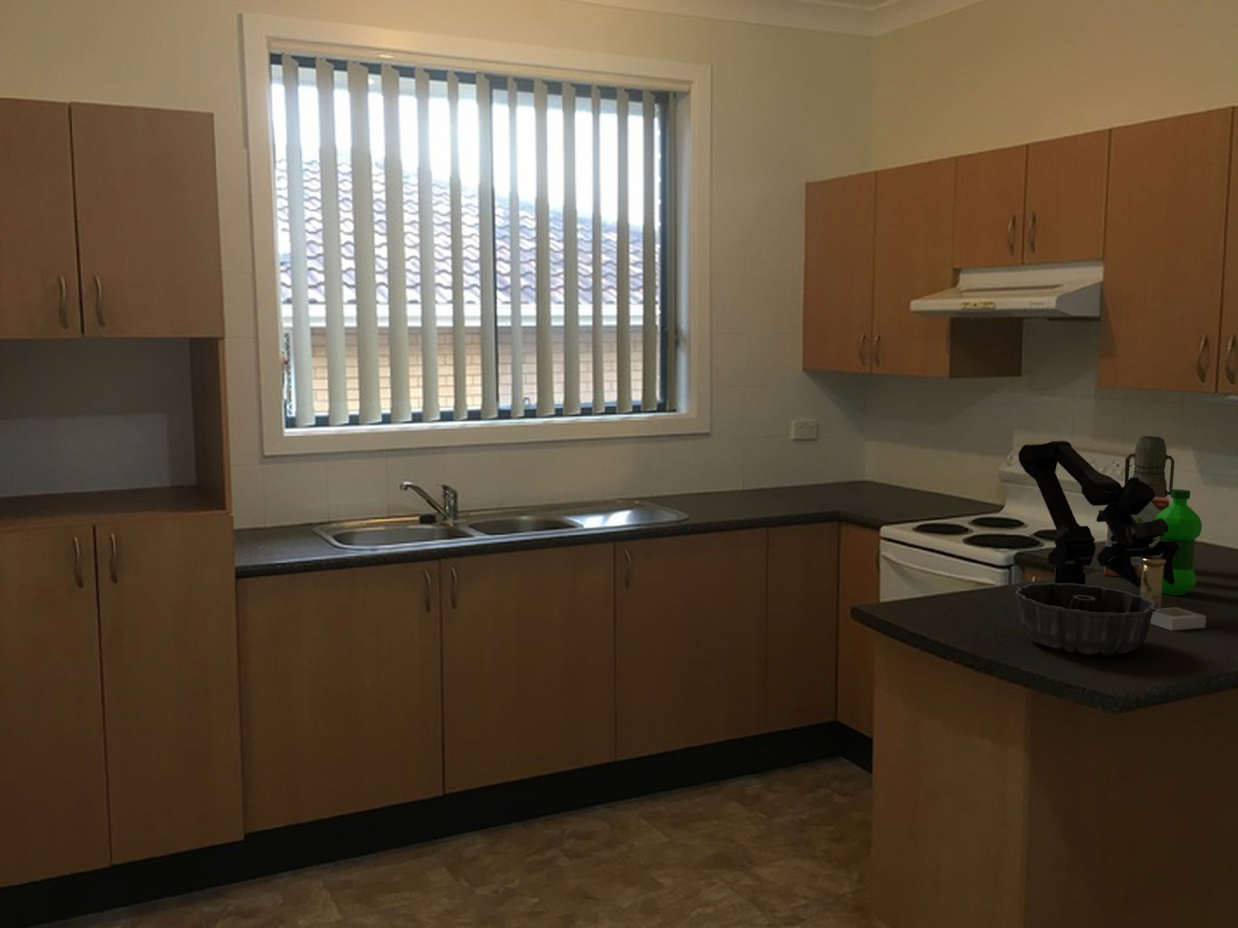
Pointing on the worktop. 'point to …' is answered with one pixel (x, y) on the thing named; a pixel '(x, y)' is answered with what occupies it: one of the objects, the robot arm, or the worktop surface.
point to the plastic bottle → (1181, 541)
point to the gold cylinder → (1152, 579)
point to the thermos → (1151, 464)
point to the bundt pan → (1084, 617)
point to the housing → (1177, 619)
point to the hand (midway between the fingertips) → (1156, 585)
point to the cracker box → (1144, 516)
